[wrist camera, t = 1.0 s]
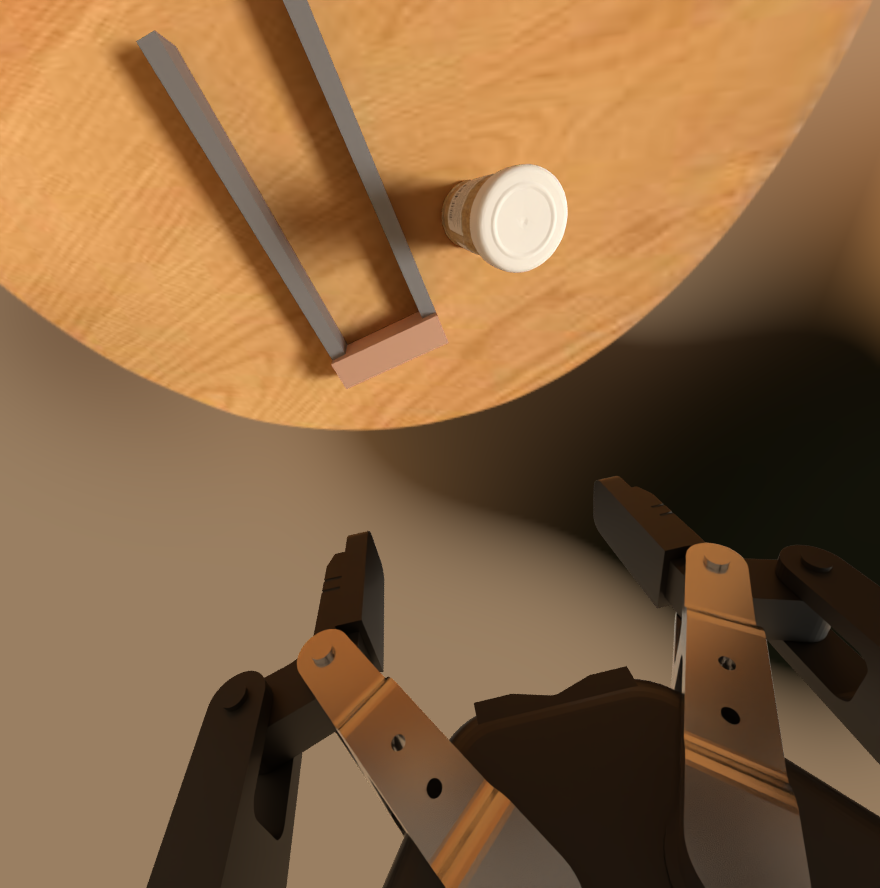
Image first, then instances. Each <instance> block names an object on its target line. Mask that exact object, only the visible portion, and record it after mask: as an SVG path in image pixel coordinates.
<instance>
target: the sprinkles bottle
mask: <svg viewBox="0 0 880 888" xmlns="http://www.w3.org/2000/svg"><path fill="white" fill-rule="evenodd" d="M566 222H567V201H566V196H565V193H564V191H563V188H562V186H561V184H560V183H559V181H558V180H557V178H556V177H555V176H554V175H553V174H552V173H551V172H549V171H548V170H546V169H544V168H542V167H540V166H537V165H532V164H522V165H515V166H511V167H507V168H505V169H502V170H500V171H498V172H496V173H495V174H491V175H487V176H483V177H479V178H476V179H473V180H466V181H462V182H460V183H459V184H457V185H456V186H454V187H453V188H452V190H451V191H450V192H449V193H448V195H447V197H446V198H445V200H444V203H443V207H442V224H443V227H444V230H445V233H446V235H447V236H448V238H449V239H450V240H451V241H452V242H453V243H455V244H457V245H458V246H460V247H462V248H465V249H467V250H468V251H470V252H472V253H475V254H478V255H480V256H481V257H482V258H483V259H484V260H485V261H486V262H487V263H489V264H490V265H492V266H494V267H496V268H498V269H501V270H503V271H507V272H513V273H520V272H525V271H529V270H532V269H534V268H536V267H538V266H539V265H541V264H542V263H544V262H545V261H546V260H547V259H548V258H549V257H550V256H551V255H552V254H553V253H554V251H555V250H556V248H557V247H558V245H559V243H560V241H561V239H562V237H563V234H564V231H565V227H566Z"/></svg>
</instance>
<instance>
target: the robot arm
mask: <svg viewBox="0 0 880 888" xmlns="http://www.w3.org/2000/svg"><path fill="white" fill-rule="evenodd" d="M594 521H595V524H596V527H597V529H598V531H599V532H600V534H601V535H602V536H603V538H604V539H605V540H606V542H607V543H608V544H609V545H610V547H611V548H612V550H613V551H614V552H615V554H616V555H617V556H618V558H619V559H620V560H621V561H622V563H623V564H624V565H625V566H626V568H627V569H628V571H629V572H630V573H631V575H632V576H633V577H634V579H635V580H636V581H637V582H638V584H639V585H640V587H641V588H642V589H643V590H644V592H645V593H646V594H647V596H648V597H649V598H650V599H651V601H652V602H653V604H654V605H655V606H656V608H660V607H664V606H669V605H671V606H672V607H673V608H674V609H675V611H676V616H675V628H674V649H673V667H672V679H671V688H669V687H667V686H664V685H661V684H658V683H655V682H651V681H646V680H640V679H634V678H633V676H632V675H631V673H630V671H629V669H628V668H627V666H626V667H622V668H618V669H613V670H609V671H605V672H601V673H597V674H593V675H589V676H587V677H586V678H584V679H582V680H581V681H579V682H577V683H576V684H574V685H572V686H571V687H569V688H567V689H566V690H564V691H562V692H560V693H559V694H557V695H551V696H550V695H549V696H548V695H526V694H509V695H505V696H501V697H497V698H493V699H488V700H484V701H480V702H476V703H474V706H475V711H476V716H475V717H473V718H472V719H470V720H469V721H467V722H466V723H465V724H463V725H462V726H461V727H460V728H459V729H458V730H457V731H456V732H455V733H454V734H453V736H452V737H451V738H450V739H449V740H448V738H447V737H446V736H445V735H444V734H443V733H442V732H441V731H440V730H439V729H438V728H437V726H435V724H434V723H433V722H432V721H431V720H430V719H429V718H428V717H427V716H426V715H425V713H424V712H423V711H422V710H421V709H420V708H419V707H418V706H417V705H416V704H415V703H414V702H413V701H412V699H411V698H410V697H409V696H408V695H407V694H406V693H405V692H404V691H403V690H402V688H401V687H400V686H399V685H398V684H397V683H396V682H395V681H394V680H393V679H392V678H390V677H387V678H385V677H384V676H383V675H382V674H381V673H380V672H383V657H384V653H383V652H384V573H383V568H382V564H381V560H380V558H379V555H378V552H377V549H376V546H375V543H374V540H373V537H372V535H371V533H370V531H367V532H363V533H358V534H353V535H349V536H348V537H347V542H346V549H345V552H342V553H338V554H335V555H334V556H333V558H332V560H331V561H330V563H329V564H328V566H327V569H326V574H325V579H324V580H325V582H324V584H323V590H322V591H323V593H322V595H321V600H320V605H319V610H318V616H317V621H316V627H315V631H314V635H313V637H311V638H310V639H309V640H308V641H307V642H306V643H305V645H304V646H303V647H302V649H301V651H300V653H299V655H298V658H297V659H296V660H295V661H294V662H292V663H291V664H289V665H287V666H285V667H284V668H282V669H280V670H278V671H276V672H274V673H273V674H271V675H269V676H267V677H265V678H264V677H263V676H262V675H261V674H260V673H258V672H256V671H247V672H243V673H240V674H238V675H236V676H234V677H233V678H231V679H229V680H228V681H227V682H226V683H225V684H224V685H223V686H221V687H220V689H219V690H218V691H217V692H216V694H215V695H214V696H213V698H212V700H211V702H210V704H209V706H208V709H207V712H206V715H205V717H204V721H203V723H202V726H201V729H200V732H199V735H198V738H197V741H196V744H195V747H194V750H193V753H192V756H191V759H190V762H189V764H188V768H187V770H186V773H185V776H184V779H183V782H182V785H181V788H180V791H179V794H178V797H177V800H176V803H175V805H174V809H173V811H172V814H171V817H170V820H169V823H168V826H167V829H166V832H165V835H164V838H163V841H162V844H161V846H160V850H159V852H158V855H157V858H156V861H155V864H154V867H153V870H152V873H151V876H150V879H149V882H148V885H147V888H286V885H287V876H288V868H289V860H290V850H291V843H292V834H293V826H294V817H295V810H296V801H297V793H298V784H299V776H300V768H301V767H300V766H301V759H302V752H304V751H305V750H307V749H308V748H310V747H311V746H313V745H314V744H316V743H318V742H319V741H321V740H322V739H324V738H326V737H327V736H329V735H331V734H332V733H334V732H335V733H336V734H337V736H338V737H339V739H340V740H341V742H342V743H343V745H344V747H345V748H346V750H347V751H348V752H349V754H350V756H351V757H352V758H353V760H354V761H355V763H356V764H357V766H358V768H359V769H360V771H361V772H362V773H363V775H364V777H365V778H366V780H367V781H368V783H369V784H370V786H371V787H372V789H373V790H374V792H375V794H376V795H377V797H378V799H379V800H380V802H381V803H382V805H383V806H384V808H385V809H386V811H387V812H388V814H389V816H390V817H391V819H392V820H393V822H394V823H395V825H396V826H397V828H398V829H399V831H400V832H401V834H402V835H403V837H404V839H403V841H402V844H401V846H400V848H399V851H398V853H397V855H396V858H395V860H394V862H393V864H392V867H391V869H390V871H389V874H388V876H387V878H386V881H385V883H384V885H383V888H880V817H879V816H878V815H876V814H874V813H873V812H871V811H869V810H868V809H866V808H865V807H863V806H862V805H860V804H858V803H857V802H855V801H854V800H852V799H850V798H849V797H847V796H846V795H844V794H842V793H841V792H839V791H838V790H836V789H834V788H832V787H831V786H830V785H828V784H826V783H825V782H823V781H821V780H820V779H818V778H817V777H815V776H813V775H812V774H810V773H809V772H807V771H805V770H804V769H802V768H801V767H799V766H797V765H795V764H794V763H793V762H791V761H789V760H788V759H786V758H785V757H784V752H783V746H782V739H781V733H780V727H779V719H778V713H777V706H776V700H775V693H774V687H773V680H772V674H771V667H770V661H769V655H768V647H767V641H766V639H767V640H768V641H769V642H770V643H771V645H772V646H773V647H774V648H775V649H776V650H777V651H778V652H779V653H780V655H781V656H782V657H783V658H784V659H785V660H786V661H787V662H788V663H789V665H790V666H791V667H792V668H793V669H794V670H795V671H796V672H797V673H798V675H799V676H800V677H801V678H802V679H803V680H804V681H805V682H806V683H807V685H809V687H810V688H811V689H812V690H813V691H814V692H815V693H816V694H817V696H818V697H819V698H820V699H821V700H822V701H823V702H824V703H825V704H826V706H828V708H829V709H830V710H831V711H832V712H833V713H834V714H835V716H836V717H837V718H838V719H839V720H840V721H841V722H842V723H843V724H844V725H845V727H846V728H847V729H848V730H849V731H850V732H851V733H852V734H853V735H854V736H855V738H856V739H857V740H858V741H859V742H860V743H861V744H862V745H863V747H864V748H865V749H866V750H867V751H868V752H869V753H870V754H871V755H872V756H873V758H874V759H875V760H876V761H877V762H878V763H879V764H880V587H879V586H878V585H877V584H875V583H874V582H873V581H871V580H870V579H869V578H867V577H866V576H864V575H863V574H862V573H860V572H859V571H858V570H856V569H855V568H853V567H852V566H851V565H849V564H848V563H847V562H845V561H844V560H842V559H841V558H839V557H838V556H836V555H834V554H832V553H830V552H828V551H825V550H823V549H819V548H816V547H812V546H806V545H792V546H788V547H785V548H784V549H782V551H781V552H780V555H779V558H778V560H767V559H744V558H742V557H741V556H740V555H739V554H738V553H736V552H735V551H733V550H731V549H729V548H727V547H724V546H722V545H717V544H712V543H706V542H704V541H703V540H702V539H701V538H700V537H699V536H698V535H697V534H696V533H695V532H694V531H692V530H691V529H690V528H689V527H688V526H687V525H686V524H685V523H684V522H683V521H682V520H680V519H679V518H678V517H677V516H676V515H675V514H672V511H671V510H669V509H668V508H667V507H666V506H664V505H663V503H662V502H661V501H659V500H658V499H657V498H656V497H655V496H654V495H653V494H651V493H650V492H647V491H645V490H643V489H641V488H639V487H633V488H631V487H630V486H629V485H628V484H627V483H625V481H624V480H623V479H622V478H621V477H619V476H614V477H610V478H605V479H601V480H597V481H595V483H594ZM830 627H832V628H833V629H835V630H836V631H837V632H838V633H839V634H840V635H841V636H842V637H844V639H846V640H847V641H848V642H849V643H850V644H851V645H852V646H853V647H854V648H855V649H857V650H858V652H859V653H860V654H861V655H862V657H863V658H864V659H863V658H862V657H861V656H860V655H858V654H857V653H856V652H855V651H854V650H853V649H852V648H851V647H850V646H849V645H847V644H846V643H845V642H844V641H843V640H842V639H841V638H840V637H839V636H838V635H837V634H836V633H834V632H833V631H832V630H831V629H830Z"/></svg>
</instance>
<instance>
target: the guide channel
mask: <svg viewBox="0 0 880 888" xmlns="http://www.w3.org/2000/svg"><path fill="white" fill-rule="evenodd" d="M283 2H284V4H285V6H286V9H287V11H288V13H289V16H290V18H291V20H292V22H293V25H294V27H295V29H296V31H297V34H298V36H299V38H300V41H301V43H302V45H303V47H304V50H305V52H306V54H307V57H308V59H309V61H310V63H311V66H312V68H313V70H314V73H315V75H316V77H317V79H318V82H319V84H320V86H321V89H322V91H323V93H324V95H325V98H326V100H327V102H328V105H329V107H330V109H331V111H332V114H333V116H334V118H335V120H336V123H337V125H338V127H339V130H340V132H341V134H342V136H343V139H344V141H345V143H346V146H347V148H348V150H349V152H350V155H351V157H352V159H353V162H354V164H355V166H356V168H357V171H358V173H359V175H360V178H361V180H362V182H363V184H364V187H365V189H366V191H367V194H368V196H369V198H370V200H371V203H372V205H373V207H374V210H375V212H376V214H377V216H378V219H379V221H380V223H381V225H382V228H383V230H384V232H385V235H386V237H387V239H388V241H389V244H390V246H391V248H392V251H393V253H394V255H395V257H396V260H397V262H398V264H399V267H400V269H401V271H402V273H403V276H404V278H405V280H406V283H407V285H408V287H409V289H410V292H411V294H412V296H413V299H414V301H415V303H416V305H417V308H418V310H419V312H417V313H415V314H413V315H410V316H408V317H406V318H404V319H402V320H400V321H398V322H395V323H393V324H391V325H389V326H387V327H385V328H383V329H380V330H378V331H376V332H374V333H372V334H370V335H368V336H366V337H363V338H361V339H359V340H357V341H355V342H353V343H351V344H347V343H346V341H345V339H344V337H343V336H342V334H341V332H340V331H339V329H338V327H337V325H336V324H335V322H334V320H333V318H332V317H331V315H330V313H329V311H328V310H327V308H326V306H325V304H324V303H323V301H322V299H321V298H320V296H319V294H318V292H317V291H316V289H315V287H314V285H313V284H312V282H311V280H310V278H309V277H308V275H307V273H306V272H305V270H304V268H303V266H302V265H301V263H300V261H299V259H298V258H297V256H296V254H295V252H294V251H293V249H292V247H291V245H290V244H289V242H288V240H287V239H286V237H285V235H284V233H283V232H282V230H281V228H280V226H279V225H278V223H277V221H276V219H275V218H274V216H273V214H272V213H271V211H270V209H269V207H268V206H267V204H266V202H265V200H264V199H263V197H262V195H261V193H260V192H259V190H258V188H257V187H256V185H255V183H254V181H253V180H252V178H251V176H250V174H249V173H248V171H247V169H246V167H245V166H244V164H243V162H242V160H241V159H240V157H239V155H238V154H237V152H236V150H235V148H234V147H233V145H232V143H231V141H230V140H229V138H228V136H227V134H226V133H225V131H224V129H223V128H222V126H221V124H220V122H219V121H218V119H217V117H216V115H215V114H214V112H213V110H212V108H211V107H210V105H209V103H208V101H207V100H206V98H205V96H204V95H203V93H202V91H201V89H200V88H199V86H198V84H197V82H196V81H195V79H194V77H193V75H192V74H191V72H190V70H189V69H188V67H187V65H186V63H185V62H184V60H183V58H182V56H181V55H180V53H179V51H178V49H177V48H176V46H175V45H173V44H172V43H171V42H169V41H168V40H167V39H165V38H164V37H163V36H161V35H160V34H159V33H157V32H156V31H155V30H154V31H153V32H151V33H149V34H148V35H146V36H144V37H143V38H141V39H139V40H138V41H136V42H137V44H138V45H139V47H140V49H141V50H142V52H143V53H144V55H145V57H146V58H147V60H148V62H149V63H150V65H151V66H152V68H153V70H154V71H155V73H156V75H157V76H158V78H159V79H160V81H161V83H162V84H163V86H164V88H165V89H166V91H167V92H168V94H169V96H170V97H171V99H172V101H173V102H174V104H175V105H176V107H177V109H178V110H179V112H180V113H181V115H182V117H183V118H184V120H185V122H186V123H187V125H188V126H189V128H190V130H191V131H192V133H193V135H194V136H195V138H196V139H197V141H198V143H199V144H200V146H201V148H202V149H203V151H204V152H205V154H206V156H207V157H208V159H209V161H210V162H211V164H212V165H213V167H214V169H215V170H216V172H217V174H218V175H219V177H220V178H221V180H222V182H223V183H224V185H225V187H226V188H227V190H228V191H229V193H230V195H231V196H232V198H233V200H234V201H235V203H236V204H237V206H238V208H239V209H240V211H241V213H242V214H243V216H244V217H245V219H246V221H247V222H248V224H249V226H250V227H251V229H252V230H253V232H254V234H255V235H256V237H257V238H258V240H259V242H260V243H261V245H262V247H263V248H264V250H265V251H266V253H267V255H268V256H269V258H270V260H271V261H272V263H273V264H274V266H275V268H276V269H277V271H278V273H279V274H280V276H281V277H282V279H283V281H284V282H285V284H286V286H287V287H288V289H289V290H290V292H291V294H292V295H293V297H294V299H295V300H296V302H297V303H298V305H299V307H300V308H301V310H302V312H303V313H304V315H305V316H306V318H307V320H308V321H309V323H310V325H311V326H312V328H313V329H314V331H315V333H316V334H317V336H318V338H319V339H320V341H321V342H322V344H323V346H324V347H325V349H326V351H327V352H328V354H329V355H330V357H331V359H332V360H333V361H332V364H331V365H332V367H333V368H334V370H335V372H336V373H337V375H338V376H339V378H340V380H341V381H342V383H343V384H344V386H345V388H346V389H348V388H350V387H353V386H355V385H357V384H359V383H361V382H364V381H366V380H368V379H370V378H372V377H375V376H377V375H379V374H381V373H383V372H386V371H388V370H390V369H392V368H394V367H397V366H399V365H401V364H403V363H405V362H408V361H410V360H412V359H414V358H417V357H419V356H421V355H423V354H425V353H428V352H430V351H432V350H434V349H436V348H439V347H441V346H443V345H445V344H447V343H449V342H448V340H447V338H446V335H445V333H444V330H443V328H442V325H441V323H440V321H439V318H438V316H437V314H436V311H435V309H434V306H433V304H432V302H431V299H430V297H429V294H428V292H427V290H426V287H425V285H424V282H423V280H422V277H421V275H420V273H419V270H418V268H417V265H416V263H415V261H414V258H413V256H412V253H411V251H410V248H409V246H408V244H407V241H406V239H405V236H404V234H403V231H402V229H401V227H400V224H399V222H398V219H397V217H396V215H395V212H394V210H393V207H392V205H391V202H390V200H389V198H388V195H387V193H386V190H385V188H384V186H383V183H382V181H381V178H380V176H379V173H378V171H377V169H376V166H375V164H374V161H373V159H372V156H371V154H370V152H369V149H368V147H367V144H366V142H365V140H364V137H363V135H362V132H361V130H360V127H359V125H358V123H357V120H356V118H355V115H354V113H353V110H352V108H351V106H350V103H349V101H348V98H347V96H346V94H345V91H344V89H343V86H342V84H341V81H340V79H339V77H338V74H337V72H336V69H335V67H334V65H333V62H332V60H331V57H330V55H329V52H328V50H327V48H326V45H325V43H324V40H323V38H322V35H321V33H320V31H319V28H318V26H317V23H316V21H315V19H314V16H313V14H312V11H311V9H310V6H309V4H308V2H307V0H283Z"/></svg>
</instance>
